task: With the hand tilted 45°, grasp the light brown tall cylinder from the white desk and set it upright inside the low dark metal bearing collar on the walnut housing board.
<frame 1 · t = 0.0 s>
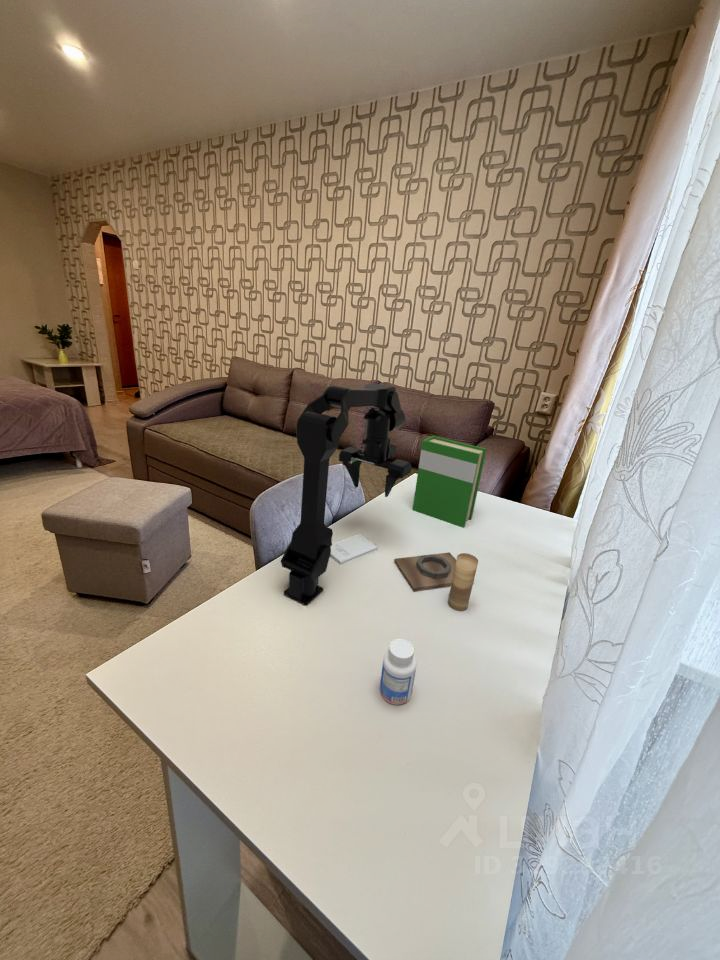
hand: (371, 491, 105), 15 cm above the table, tool pointing down, fingers open, 9 cm apart
pill bottle: (395, 692, 66), on the table
external hard drive: (349, 552, 105), on the table
housing: (432, 572, 98), on the table
hardback book: (441, 515, 128), on the table
light brown tall cylinder: (457, 604, 88), on the table
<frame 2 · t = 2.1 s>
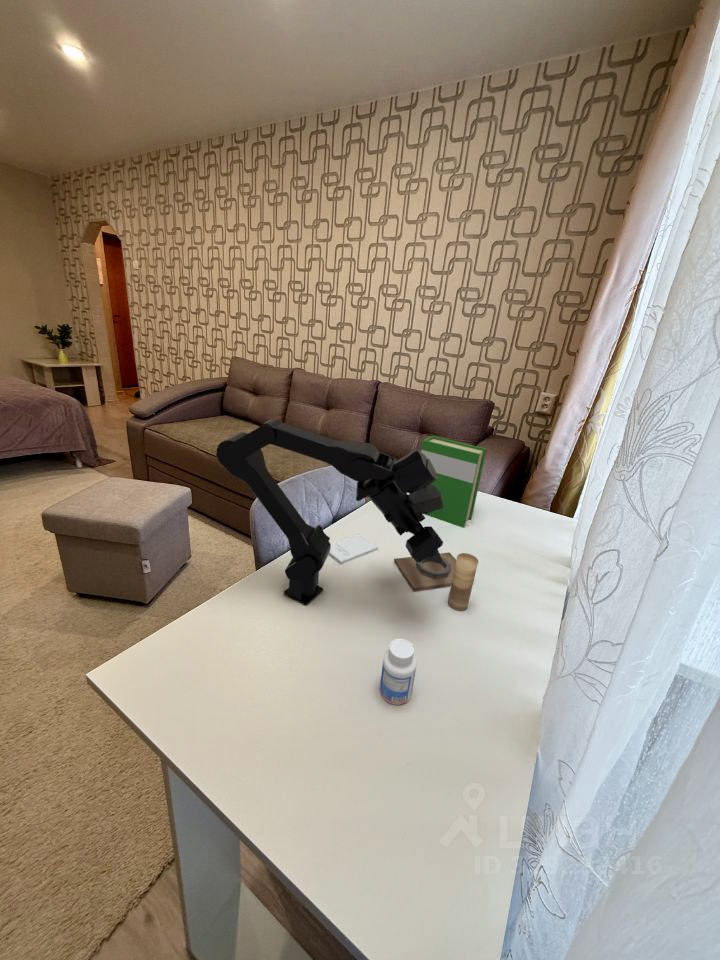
hand: (431, 548, 83), 13 cm above the table, tool tilted 40°, fingers open, 9 cm apart
nothing on the table moved.
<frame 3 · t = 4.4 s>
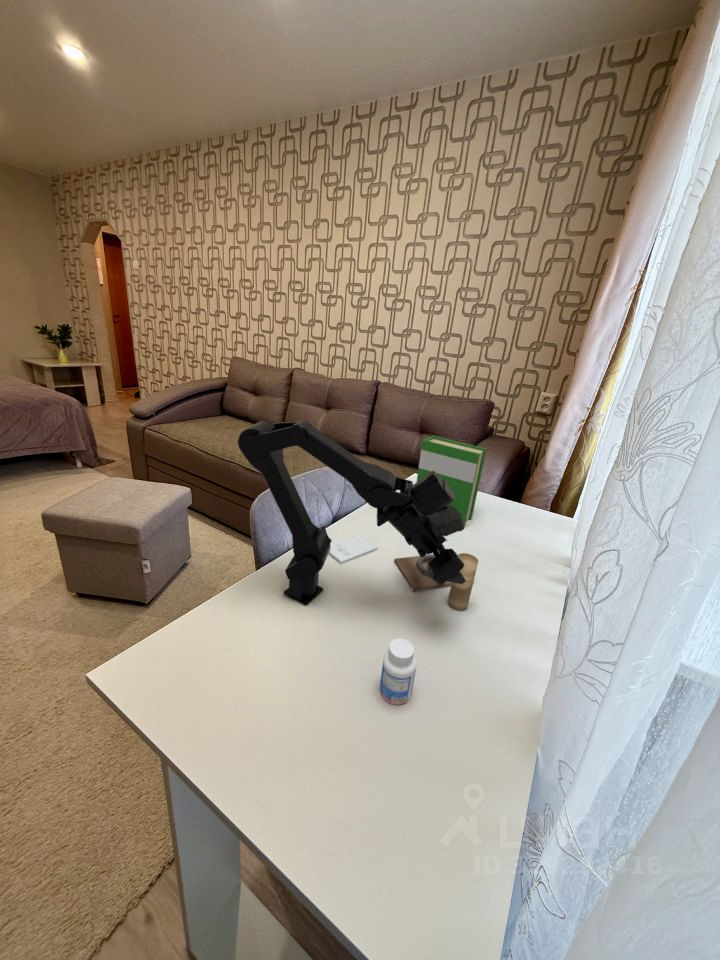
hand: (455, 568, 84), 10 cm above the table, tool tilted 45°, fingers open, 9 cm apart
nothing on the table moved.
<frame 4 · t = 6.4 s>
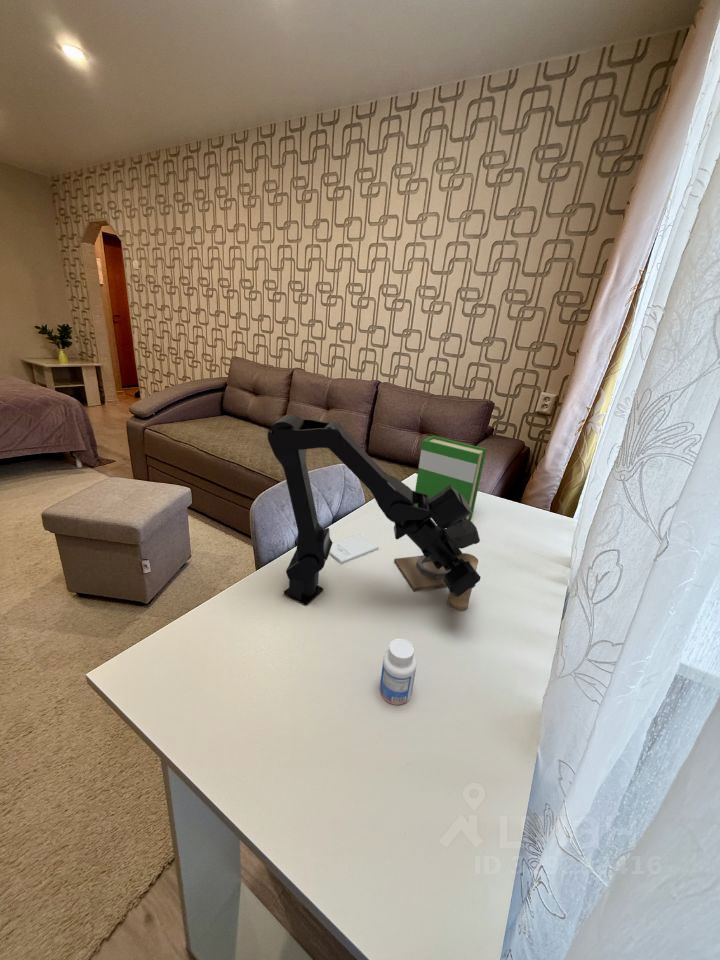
hand: (468, 579, 86), 7 cm above the table, tool tilted 45°, fingers closed on light brown tall cylinder, 4 cm apart
light brown tall cylinder: (457, 604, 88), on the table, touching gripper
everything else where it was.
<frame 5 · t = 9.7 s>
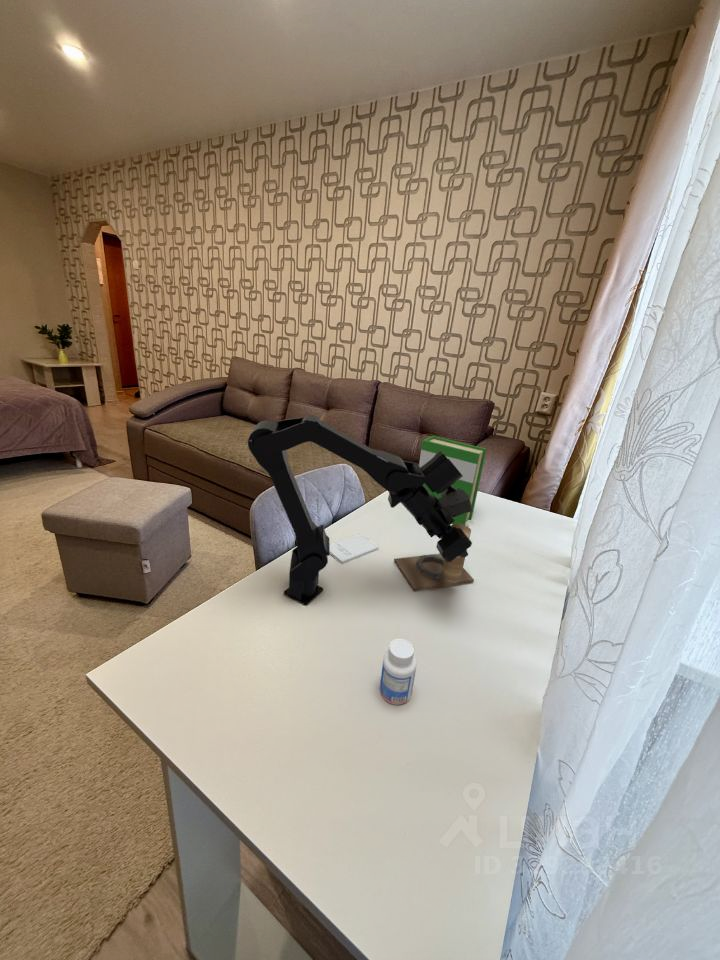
hand: (462, 549, 88), 11 cm above the table, tool tilted 45°, fingers closed on light brown tall cylinder, 4 cm apart
light brown tall cylinder: (451, 574, 90), point 5 cm above the table, touching gripper
everything else where it was.
when the fingers open (8 cm above the table, at t = 12.9 s): light brown tall cylinder stays where it is, resting on housing.
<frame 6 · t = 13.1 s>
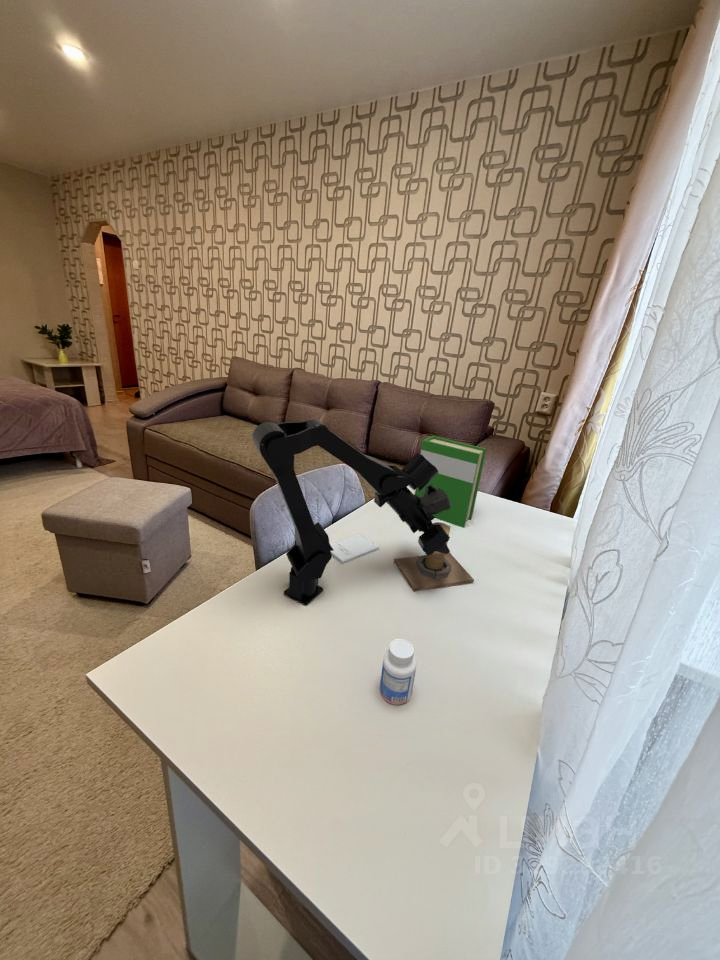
hand: (443, 544, 96), 8 cm above the table, tool tilted 45°, fingers open, 7 cm apart
light brown tall cylinder: (433, 568, 98), point 1 cm above the table, touching housing
everything else where it was.
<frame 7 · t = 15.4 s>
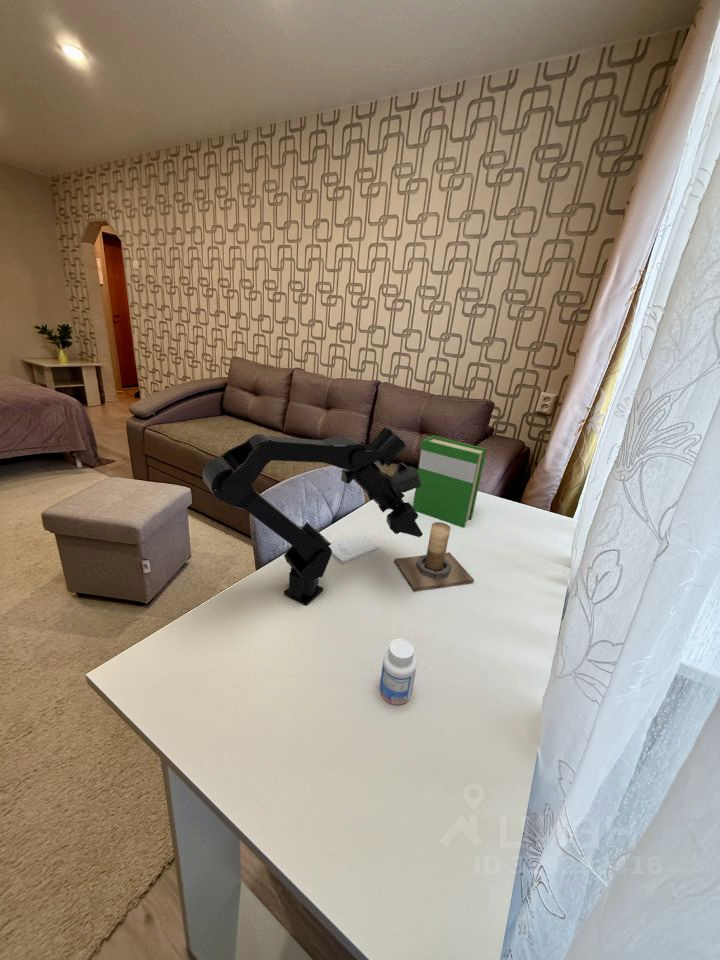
hand: (415, 525, 92), 13 cm above the table, tool tilted 45°, fingers open, 9 cm apart
nothing on the table moved.
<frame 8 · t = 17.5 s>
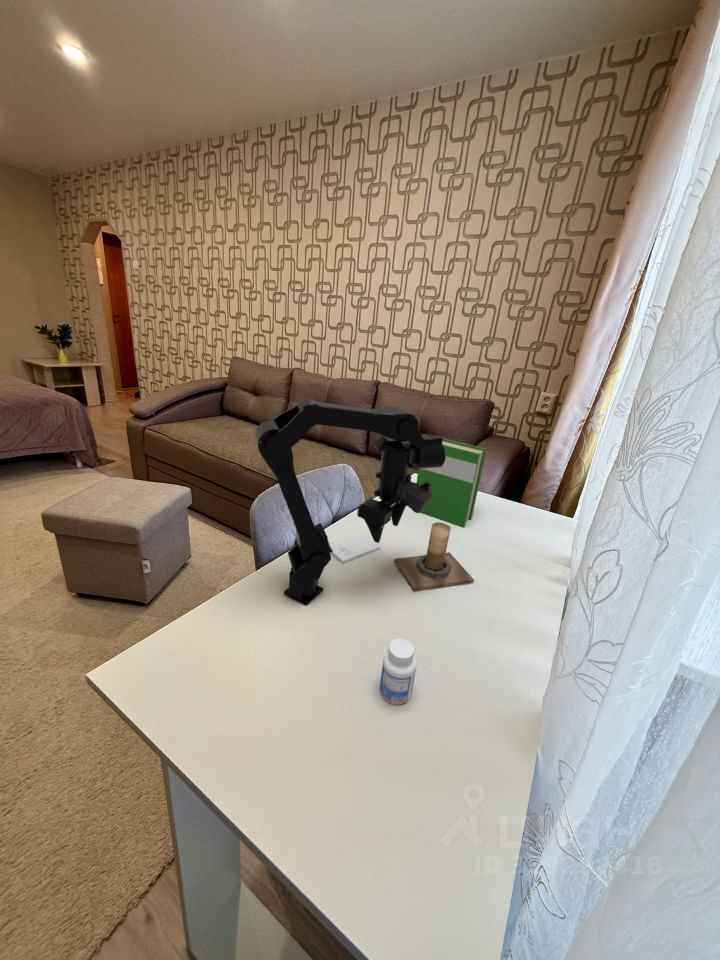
hand: (386, 533, 88), 13 cm above the table, tool pointing down, fingers open, 9 cm apart
nothing on the table moved.
at the end: light brown tall cylinder 0.0 cm off-centre on the housing, point 1.0 cm above the housing's base; light brown tall cylinder tilted 1°; the gripper is holding nothing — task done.
